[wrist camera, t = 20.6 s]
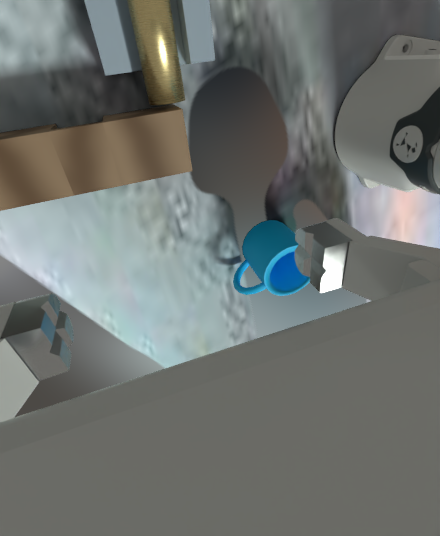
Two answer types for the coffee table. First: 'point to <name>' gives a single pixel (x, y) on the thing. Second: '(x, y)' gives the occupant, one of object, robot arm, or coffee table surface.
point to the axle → (157, 50)
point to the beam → (91, 155)
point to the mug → (271, 260)
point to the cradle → (123, 39)
